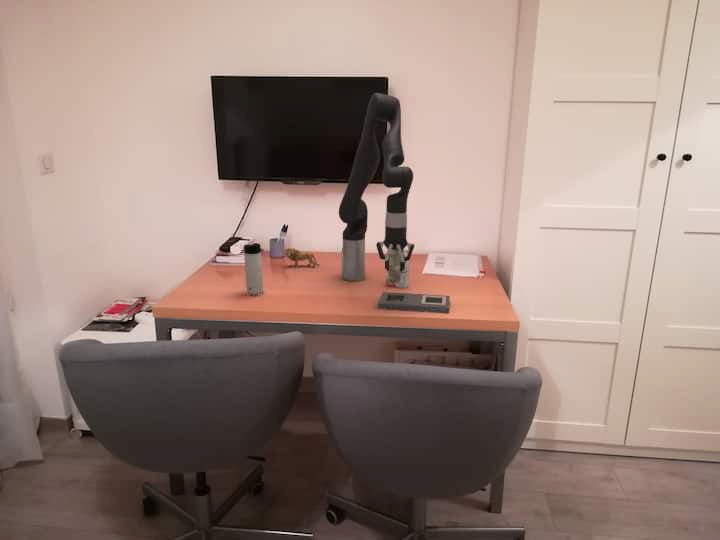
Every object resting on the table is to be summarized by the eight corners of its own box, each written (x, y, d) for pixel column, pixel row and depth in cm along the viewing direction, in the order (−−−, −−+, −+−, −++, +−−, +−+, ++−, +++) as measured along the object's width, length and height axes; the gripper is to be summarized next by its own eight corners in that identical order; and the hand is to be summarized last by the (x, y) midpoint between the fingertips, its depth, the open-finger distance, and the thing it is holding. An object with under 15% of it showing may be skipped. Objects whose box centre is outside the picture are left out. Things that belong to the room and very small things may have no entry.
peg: (387, 282, 191) (388, 250, 187) (389, 278, 195) (390, 246, 191) (399, 283, 190) (400, 250, 186) (401, 279, 194) (402, 247, 190)
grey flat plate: (378, 308, 191) (378, 302, 190) (382, 296, 202) (382, 291, 201) (448, 313, 186) (448, 307, 185) (449, 300, 197) (449, 295, 197)
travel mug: (250, 297, 201) (246, 246, 195) (245, 292, 207) (241, 242, 201) (266, 294, 204) (262, 244, 198) (260, 289, 210) (257, 240, 204)
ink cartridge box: (385, 286, 213) (385, 250, 209) (389, 282, 218) (389, 247, 213) (406, 288, 211) (407, 252, 206) (409, 284, 215) (410, 249, 211)
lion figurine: (286, 269, 235) (285, 249, 232) (286, 265, 240) (285, 246, 237) (319, 267, 237) (318, 248, 234) (319, 264, 242) (318, 245, 239)
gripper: (417, 223, 188) (415, 268, 193) (377, 220, 191) (376, 266, 196) (415, 227, 181) (413, 275, 186) (374, 225, 184) (373, 272, 189)
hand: (394, 270), depth 191 cm, fingers closed on peg, 4 cm apart
